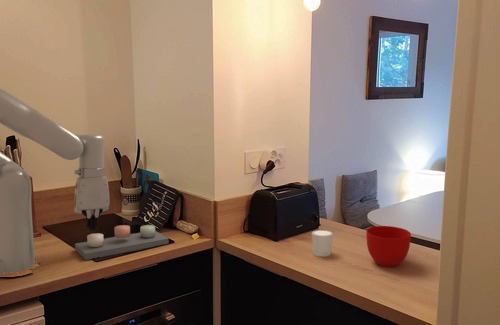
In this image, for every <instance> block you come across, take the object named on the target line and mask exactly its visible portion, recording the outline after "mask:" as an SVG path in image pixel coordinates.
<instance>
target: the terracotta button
mask: <svg viewBox="0 0 500 325" xmlns="http://www.w3.org/2000/svg"><path fill="white" fill-rule="evenodd" d="M130 234H131V226H130V225H128V224H127V225H125V224H123V225H115V226H114V237H116V238H126V237H129V236H130Z"/></svg>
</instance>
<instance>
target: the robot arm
mask: <svg viewBox="0 0 500 325" xmlns="http://www.w3.org/2000/svg"><path fill="white" fill-rule="evenodd" d="M0 125H3V126H4V127H6V128H8V129H9V130H11V131H13V132H14V133H16V134H17V135H20V136H21V137H24V138H27V139H29V140H32V141H33V142H35V143H36V144H39V146H40V145H41V146H42V147H43V148H45V149H47V150H48V151H50V152H52V153H54V154H55V155H57V156H58V157H60V158H62V159H64V160H66V161H73V160H77V159H79V160H78V164H79V165H78V166H79V167H78V169H75V170H74V175H77V176H78V177H76V182H75V186H74V188H75V189H74V208H73V209H74V210H73V212H74V213H76V214H82V215H83V216H85V218H86V219H85V220H86V224H85V225H86V228H87V229H88V230H89V231H96V228H97V227H98V218H99V216H100V214H102V213H103V212H105V211H106V212H107V211H108V210H110V202H111V201H110V189H109V181H108V177H107V176H105V138H104V136H103V135H102V134H96V133H84V134H74V133H72V132H71V131H69V130H68V129H66V128H64V127H63V126H61V125H59V124H58V123H56V122H55V121H53V120H51V119H50V118H48V117H46V116H45V115H43V114H42V113H41V112H39V111H38V110H36V109H35V108H33V107H31V105H28V104H27V103H25V102H24V101H22V100H20V99H18V98H17V97H15V95H12V94H11V93H9V92H7V91H6V90H4V89H3V88H1V87H0ZM32 209H33V208H32V181H31V178H30V176H29V174H28V173H27V171H26V170H25V169H23V167H21V165H19V164H18V163H16V162H15V161H14V160H12V159H11V158H9V157H8V156H7V155H5V154H4V153H3V152H1V151H0V274H3V273H4V272H5V273H6V272H7V273H9V272H18V271H23V270H27V269H29V268H31V267H33V266H34V265H35V260H36V258H35V257H36V256H35V243H34V241H35V240H34V228H33V223H34V222H33V213H32V212H33V211H32ZM91 210H92V213H91ZM3 275H4V274H3Z"/></svg>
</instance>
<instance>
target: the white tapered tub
mask: <svg viewBox="0 0 500 325" xmlns="http://www.w3.org/2000/svg"><path fill="white" fill-rule="evenodd" d="M333 238H334V233H333V232H332V231H331V230H323V229H318V230H313V231H312V232H311V239H312V240H311V241H312V250H313V255H314V256H316V257H330V256H331V255H332V247H333V240H334V239H333Z"/></svg>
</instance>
